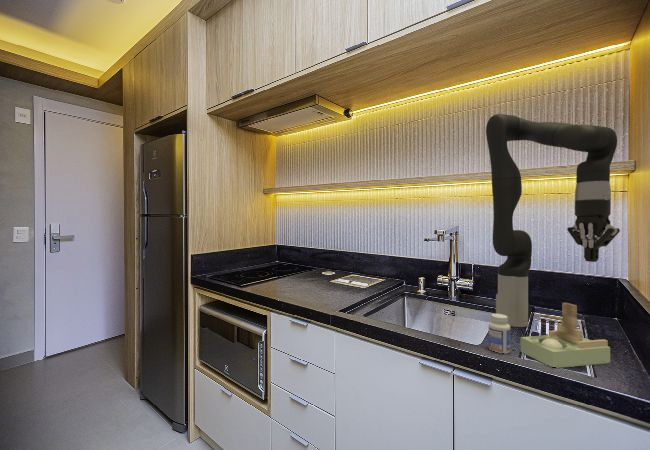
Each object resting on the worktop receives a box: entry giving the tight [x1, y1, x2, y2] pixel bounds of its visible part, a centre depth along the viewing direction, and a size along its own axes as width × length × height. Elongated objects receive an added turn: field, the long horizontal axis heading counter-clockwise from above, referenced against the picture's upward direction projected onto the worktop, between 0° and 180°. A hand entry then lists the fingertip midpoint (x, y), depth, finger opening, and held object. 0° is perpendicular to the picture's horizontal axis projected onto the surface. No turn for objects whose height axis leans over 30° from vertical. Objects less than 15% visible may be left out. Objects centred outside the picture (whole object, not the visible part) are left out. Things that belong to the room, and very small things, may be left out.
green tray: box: [520, 329, 611, 369], centre depth 82 cm, size 10×17×6 cm, turn 100°
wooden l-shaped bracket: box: [556, 302, 584, 344], centre depth 82 cm, size 6×1×10 cm, turn 10°
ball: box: [542, 339, 563, 348], centre depth 81 cm, size 5×5×5 cm
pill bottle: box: [488, 313, 512, 354], centre depth 86 cm, size 5×5×10 cm
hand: (591, 261), depth 85 cm, fingers closed
